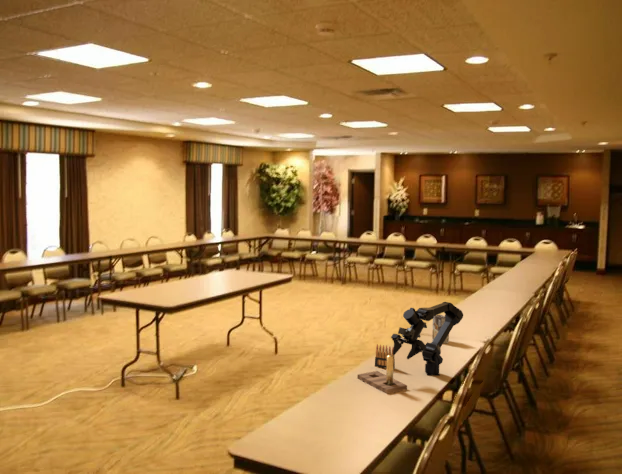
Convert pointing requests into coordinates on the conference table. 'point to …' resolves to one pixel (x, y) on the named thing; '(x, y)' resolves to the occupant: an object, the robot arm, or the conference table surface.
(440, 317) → the coffee box
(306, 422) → the conference table surface
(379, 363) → the ammunition clip
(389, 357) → the brass peg
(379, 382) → the block
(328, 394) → the conference table surface
